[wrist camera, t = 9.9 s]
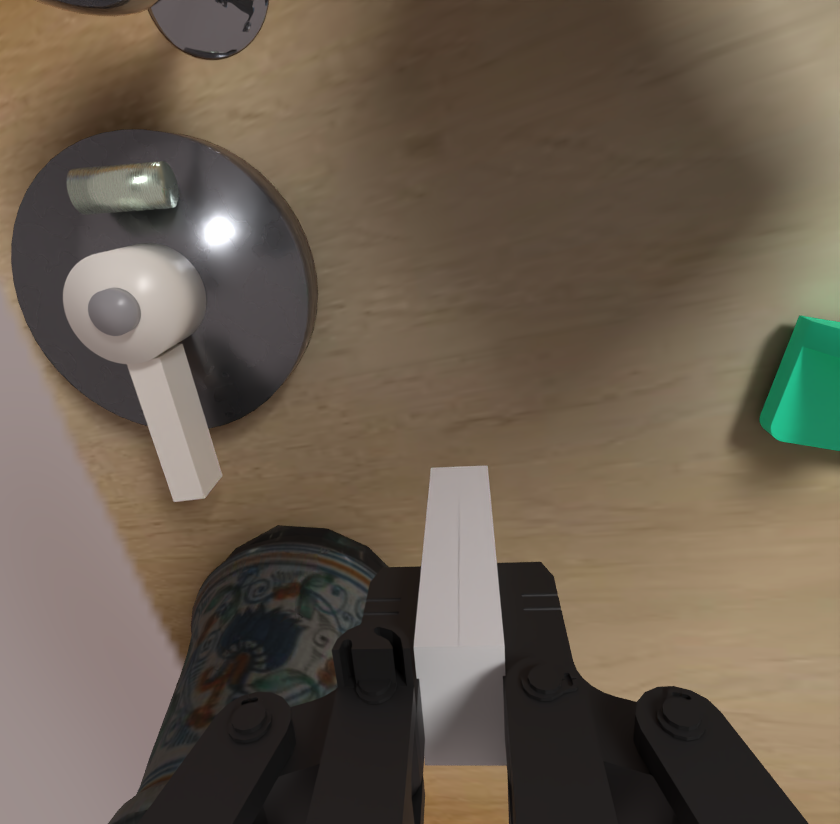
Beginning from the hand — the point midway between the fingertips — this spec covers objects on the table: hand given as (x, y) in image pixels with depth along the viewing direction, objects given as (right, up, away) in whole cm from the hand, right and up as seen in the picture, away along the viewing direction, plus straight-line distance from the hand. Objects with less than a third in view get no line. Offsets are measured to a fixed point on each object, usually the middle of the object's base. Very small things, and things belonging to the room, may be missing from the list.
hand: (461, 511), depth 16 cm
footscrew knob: (-16, +6, +22) cm, 28 cm away
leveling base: (-17, +11, +23) cm, 30 cm away
